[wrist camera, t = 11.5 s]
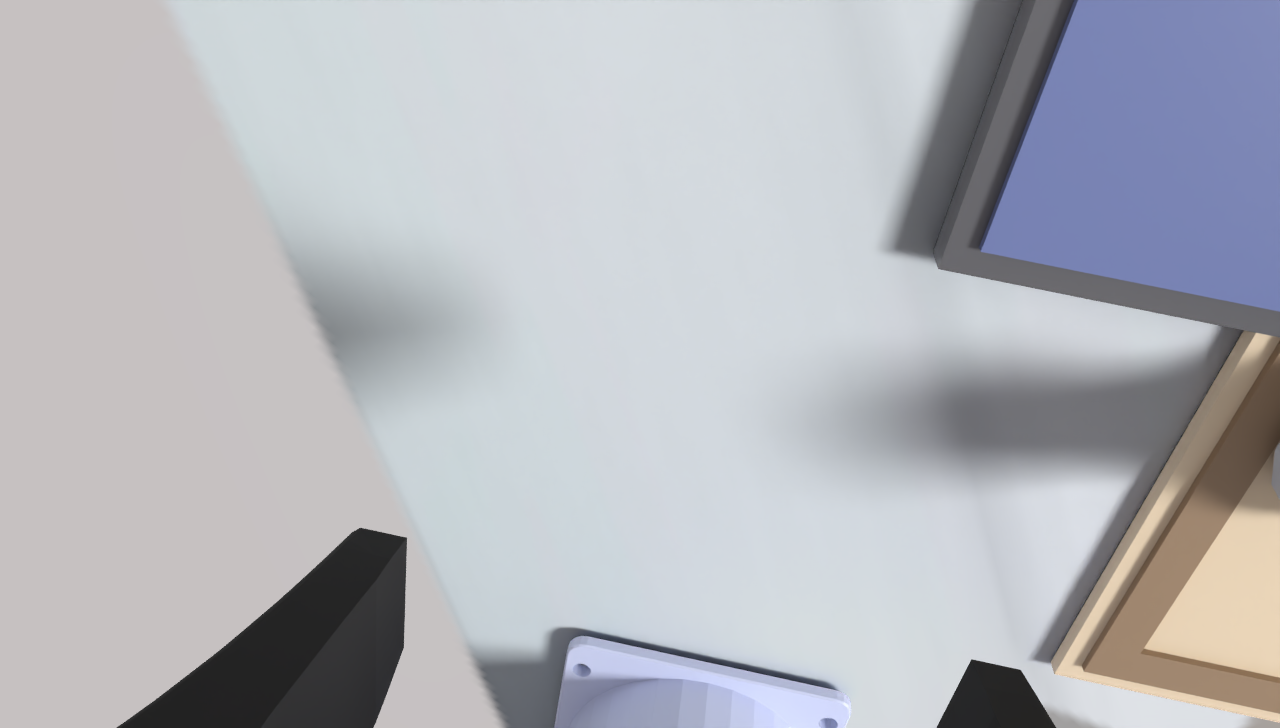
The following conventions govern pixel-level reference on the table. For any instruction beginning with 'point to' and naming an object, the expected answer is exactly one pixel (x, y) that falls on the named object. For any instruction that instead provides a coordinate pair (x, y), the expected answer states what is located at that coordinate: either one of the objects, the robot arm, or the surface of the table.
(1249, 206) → the ink pad
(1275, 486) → the rook chess piece
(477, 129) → the table surface
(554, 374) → the table surface
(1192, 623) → the mat
